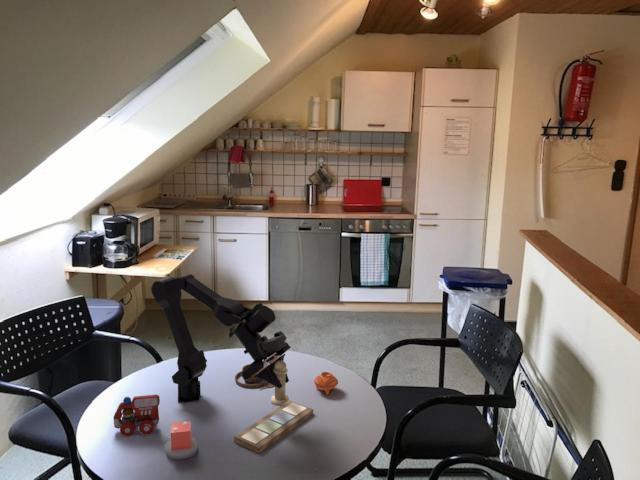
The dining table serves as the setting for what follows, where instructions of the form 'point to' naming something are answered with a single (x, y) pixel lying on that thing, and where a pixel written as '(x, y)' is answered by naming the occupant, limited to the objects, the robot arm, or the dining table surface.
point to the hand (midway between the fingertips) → (284, 384)
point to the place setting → (251, 380)
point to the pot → (326, 381)
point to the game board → (273, 426)
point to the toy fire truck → (137, 414)
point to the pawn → (280, 372)
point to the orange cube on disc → (181, 441)
